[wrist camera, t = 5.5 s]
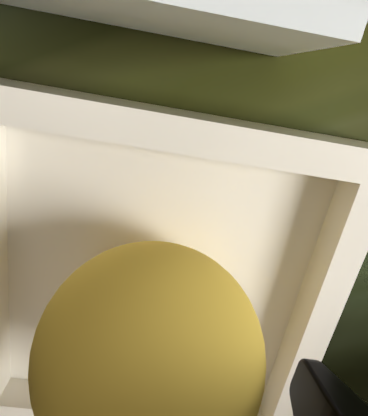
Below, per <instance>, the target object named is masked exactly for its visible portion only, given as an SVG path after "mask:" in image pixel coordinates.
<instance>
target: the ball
mask: <svg viewBox="0 0 368 416" xmlns="http://www.w3.org/2000/svg"><path fill="white" fill-rule="evenodd" d="M265 378H266V353H265V342H264V338H263V334H262V330H261V326H260V323H259V319H258V317H257V315H256V313H255V310H254V308H253V306H252V304H251V302H250V299H249V298H248V296H247V295H246V293H245V292H244V290H243V289H242V287H241V286H240V285H239V283H238V282H237V281H236V280H235V279H234V277H233V276H232V275H231V274H230V273H229V272H228V271H227V270H225V269H224V268H223V267H222V266H221V265H219V264H218V263H217V262H216V261H215V260H213V259H211V258H210V257H208V256H207V255H205V254H203V253H201V252H199V251H197V250H195V249H192V248H189V247H186V246H183V245H180V244H176V243H171V242H164V241H141V242H134V243H128V244H124V245H121V246H117V247H114V248H112V249H109V250H107V251H104V252H102V253H101V254H99V255H97V256H95V257H94V258H92V259H90V260H89V261H87V262H85V263H84V264H83V265H82V266H80V267H79V268H78V269H76V270H75V271H74V272H73V273H72V274H71V275H70V276H69V277H68V278H67V279H66V280H65V281H64V282H63V283H62V285H61V286H60V287H59V288H58V290H57V291H56V293H55V294H54V295H53V297H52V298H51V300H50V301H49V303H48V304H47V306H46V308H45V310H44V312H43V314H42V316H41V318H40V321H39V323H38V325H37V328H36V331H35V334H34V338H33V342H32V346H31V350H30V357H29V369H28V385H29V395H30V403H31V407H32V411H33V414H34V416H257V415H258V412H259V408H260V405H261V401H262V397H263V393H264V387H265Z"/></svg>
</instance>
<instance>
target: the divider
mask: <svg viewBox="0 0 368 416" xmlns="http://www.w3.org/2000/svg"><path fill="white" fill-rule="evenodd" d="M0 4H5V5H10V6H15V7H21V8H26V9H31V10H36V11H41V12H47V13H52V14H57V15H62V16H67V17H73V18H78V19H83V20H88V21H93V22H99V23H104V24H109V25H114V26H120V27H125V28H130V29H135V30H140V31H146V32H151V33H156V34H161V35H166V36H172V37H177V38H182V39H187V40H192V41H198V42H203V43H208V44H213V45H218V46H224V47H229V48H234V49H239V50H245V51H250V52H255V53H260V54H265V55H271V56H276V57H279V56H284V55H290V54H296V53H302V52H308V51H314V50H320V49H326V48H332V47H338V46H344V45H349V44H355V43H360V42H361V39H362V36H363V33H364V29H365V26H366V24H367V23H368V0H0Z"/></svg>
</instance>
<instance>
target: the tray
mask: <svg viewBox="0 0 368 416" xmlns="http://www.w3.org/2000/svg"><path fill="white" fill-rule="evenodd" d="M141 241H164V242H171V243H176V244H180V245H183V246H186V247H189V248H192V249H195V250H197V251H199V252H201V253H203V254H205V255H207V256H208V257H210V258H211V259H213V260H215V261H216V262H217V263H218V264H219V265H221V266H222V267H223V268H224V269H225V270H227V271H228V272H229V273H230V274H231V275H232V276H233V277H234V279H235V280H236V281H237V282H238V283H239V285H240V286H241V287H242V289H243V290H244V292H245V293H246V295H247V296H248V298H249V299H250V302H251V304H252V306H253V308H254V310H255V313H256V315H257V317H258V319H259V323H260V326H261V330H262V334H263V338H264V342H265V353H266V378H265V387H264V393H263V397H262V401H261V405H260V408H259V412H258V415H257V416H293V411H292V406H291V400H290V394H289V388H290V383H291V380H292V378H293V375H294V373H295V370H296V367H297V365H298V362H299V361H300V360H301V359H303V358H305V359H314V360H319V361H322V359H323V357H324V354H325V352H326V349H327V347H328V345H329V342H330V340H331V337H332V335H333V333H334V330H335V328H336V325H337V323H338V321H339V318H340V316H341V313H342V311H343V309H344V306H345V304H346V302H347V299H348V297H349V294H350V292H351V290H352V287H353V285H354V282H355V280H356V278H357V275H358V273H359V270H360V268H361V266H362V263H363V261H364V258H365V256H366V254H367V251H368V142H365V141H360V140H354V139H348V138H343V137H337V136H331V135H325V134H320V133H314V132H308V131H303V130H297V129H291V128H285V127H280V126H274V125H268V124H263V123H257V122H251V121H245V120H240V119H234V118H228V117H222V116H217V115H211V114H205V113H200V112H194V111H188V110H182V109H177V108H171V107H165V106H160V105H154V104H148V103H142V102H137V101H131V100H125V99H119V98H114V97H108V96H102V95H97V94H91V93H85V92H79V91H74V90H68V89H62V88H57V87H51V86H45V85H39V84H34V83H28V82H22V81H17V80H11V79H5V78H0V416H34V414H33V411H32V407H31V403H30V395H29V385H28V369H29V357H30V350H31V346H32V342H33V338H34V334H35V331H36V328H37V325H38V323H39V321H40V318H41V316H42V314H43V312H44V310H45V308H46V306H47V304H48V303H49V301H50V300H51V298H52V297H53V295H54V294H55V293H56V291H57V290H58V288H59V287H60V286H61V285H62V283H63V282H64V281H65V280H66V279H67V278H68V277H69V276H70V275H71V274H72V273H73V272H74V271H75V270H76V269H78V268H79V267H80V266H82V265H83V264H84V263H85V262H87V261H89V260H90V259H92V258H94V257H95V256H97V255H99V254H101V253H102V252H104V251H107V250H109V249H112V248H114V247H117V246H121V245H124V244H128V243H134V242H141Z"/></svg>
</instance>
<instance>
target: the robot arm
mask: <svg viewBox="0 0 368 416" xmlns="http://www.w3.org/2000/svg"><path fill="white" fill-rule="evenodd" d="M289 394H290V400H291V406H292V411H293V416H368V405H367V404H366V403H365V402H364V401H363V400H362V399H361V398H360V397H359V396H357V395H356V394H355V393H354V392H353V391H352V390H351V389H350V388H349V387H348V386H347V385H346V384H345V383H343V382H342V381H341V380H340V379H339V378H338V377H337V376H336V375H335V374H334V373H333V372H332V371H331V370H329V369H328V368H327V367H326V366H325V365H324V364H323V363H322V362H321V361H319V360H314V359H305V358H303V359H301V360H300V361H299V362H298V365H297V367H296V370H295V373H294V375H293V378H292V380H291V383H290V388H289Z"/></svg>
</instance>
